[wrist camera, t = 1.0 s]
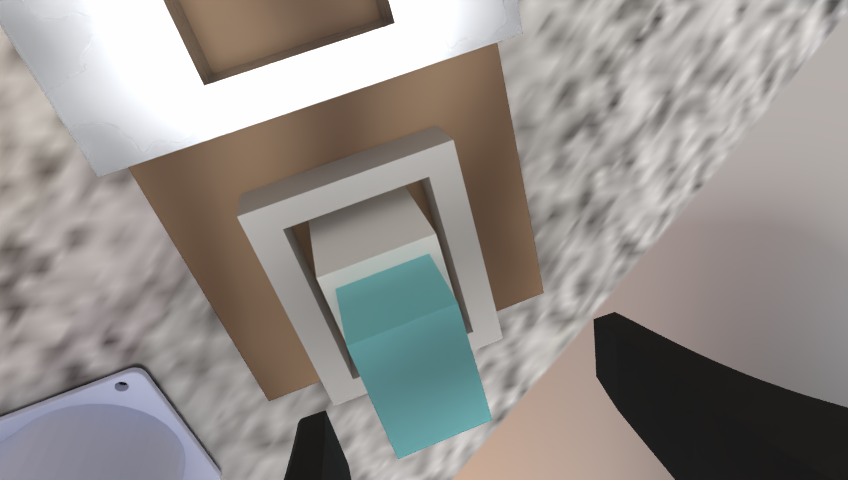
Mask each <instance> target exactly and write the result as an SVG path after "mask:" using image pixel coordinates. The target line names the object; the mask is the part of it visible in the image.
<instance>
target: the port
mask: <svg viewBox="0 0 848 480" xmlns="http://www.w3.org/2000/svg"><path fill="white" fill-rule="evenodd" d="M375 1H376V5H377V8H378V12H379V15H380V20H377V21H374V22H371V23H367V24H364V25H361V26H358V27H355V28H352V29H349V30H346V31H343V32H340V33H337V34H334V35H331V36H328V37H324V38H321V39H318V40H315V41H312V42H309V43H306V44H303V45H300V46H297V47H294V48H291V49H288V50H285V51H281V52H278V53H275V54H272V55H269V56H266V57H263V58H260V59H257V60H254V61H251V62H248V63H245V64H242V65H238V66H235V67H232V68H229V69H226V70H223V71H220V72H217V73H214V74H213V72H212V70H211V68H210V66H209V64H208V62H207V59H206V57H205V55H204V53H203V51H202V49H201V46H200V44H199V42H198V40H197V38H196V36H195V34H194V31H193V29H192V27H191V25H190V23H189V21H188V19H187V16H186V14H185V12H184V10H183V8H182V6H181V4H180V1H179V0H0V25H1V27H2V28H3V30H4V32H5V33H6V35H7V36H8V38H9V39H10V41H11V42H12V44H13V46H14V47H15V49H16V50H17V52H18V53H19V55H20V56H21V58H22V60H23V61H24V63H25V64H26V66H27V67H28V69H29V71H30V72H31V74H32V75H33V77H34V78H35V80H36V81H37V83H38V85H39V86H40V88H41V89H42V91H43V92H44V94H45V96H46V97H47V99H48V100H49V102H50V103H51V105H52V106H53V108H54V110H55V111H56V113H57V114H58V116H59V117H60V119H61V120H62V122H63V124H64V125H65V127H66V128H67V130H68V131H69V133H70V135H71V136H72V138H73V139H74V141H75V142H76V144H77V145H78V147H79V149H80V150H81V152H82V153H83V155H84V156H85V158H86V160H87V161H88V163H89V164H90V166H91V167H92V169H93V170H94V172H95V174H96V175H97V177H100V176H103V175H106V174H109V173H112V172H115V171H118V170H121V169H124V168H127V167H130V166H133V165H136V164H139V163H142V162H145V161H148V160H150V159H153V158H156V157H159V156H162V155H165V154H168V153H171V152H174V151H177V150H180V149H183V148H186V147H189V146H192V145H195V144H198V143H201V142H204V141H207V140H210V139H213V138H215V137H218V136H221V135H224V134H227V133H230V132H233V131H236V130H239V129H242V128H245V127H248V126H251V125H254V124H257V123H260V122H263V121H266V120H269V119H272V118H275V117H278V116H280V115H283V114H286V113H289V112H292V111H295V110H298V109H301V108H304V107H307V106H310V105H313V104H316V103H319V102H322V101H325V100H328V99H331V98H334V97H337V96H340V95H343V94H345V93H348V92H351V91H354V90H357V89H360V88H363V87H366V86H369V85H372V84H375V83H378V82H381V81H384V80H387V79H390V78H393V77H396V76H399V75H402V74H405V73H408V72H410V71H413V70H416V69H419V68H422V67H425V66H428V65H431V64H434V63H437V62H440V61H443V60H446V59H449V58H452V57H455V56H458V55H461V54H464V53H467V52H470V51H473V50H475V49H478V48H481V47H484V46H487V45H490V44H493V43H496V42H499V41H502V40H505V39H508V38H511V37H514V36H517V35H520V34H523V32H522V26H521V20H520V13H519V7H518V1H517V0H375Z"/></svg>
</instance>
